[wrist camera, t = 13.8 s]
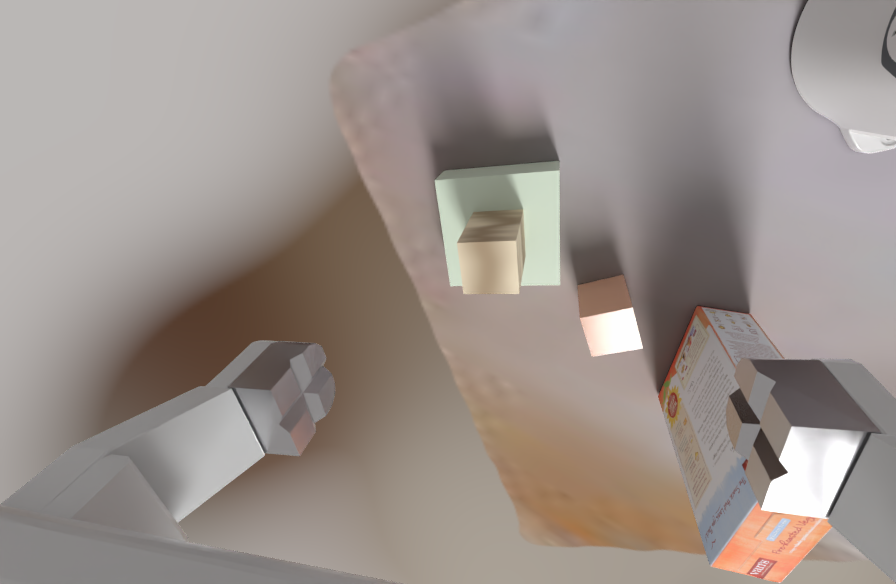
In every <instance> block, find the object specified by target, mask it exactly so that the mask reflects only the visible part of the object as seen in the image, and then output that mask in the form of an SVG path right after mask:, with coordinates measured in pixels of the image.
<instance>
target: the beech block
mask: <svg viewBox="0 0 896 584" xmlns="http://www.w3.org/2000/svg"><path fill="white" fill-rule="evenodd" d="M457 248H458V256H459V263H460V271H461V278H462V285H463V293H464V294H519V293H520V287H521V281H522V275H523V269H524V263H525V257H526V252H525V231H524V211H523V209H517V210H500V211H482V212H473V214H472V216H471V217H470V219H469V221H468V223H467V225H466V227H465V229H464V230H463V232H462V234H461V236H460V238H459V240H458V242H457Z"/></svg>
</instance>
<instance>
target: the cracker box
mask: <svg viewBox="0 0 896 584" xmlns="http://www.w3.org/2000/svg"><path fill="white" fill-rule="evenodd" d="M741 358H768V359H785V358H784V357H783V356H782V355H781V353H780V352H779V351H778V349H777V348H776V347H775V345H774V344H773V343H772V341H771V340H770V339H769V337H768V336H767V335H766V334H765V332H764V331H763V330H762V328H761V327H760V326H759V325H758V323H757V322H756V321H755V319H754V318H753V317H752V316H751V314H746V313H740V312H734V311H728V310H721V309H714V308H708V307H702V306H697V307H696V309H695V311H694V314H693V316H692V318H691V321H690V323H689V325H688V327H687V330H686V332H685V335H684V337H683V339H682V342H681V344H680V346H679V349H678V351H677V354H676V356H675V358H674V360H673V363H672V365H671V367H670V370H669V372H668V374H667V377H666V379H665V382H664V384H663V386H662V389H661V391H660V393H659V396H658V397H659V401H660V404H661V407H662V411H663V414H664V418H665V421H666V424H667V427H668V431H669V434H670V437H671V440H672V444H673V447H674V450H675V453H676V457H677V460H678V463H679V466H680V470H681V473H682V476H683V479H684V483H685V486H686V489H687V493H688V496H689V499H690V503H691V506H692V509H693V512H694V516H695V519H696V522H697V525H698V529H699V532H700V535H701V538H702V541H703V545H704V548H705V551H706V555H707V558H708V561H709V564H710V566H712V567H716V568H720V569H724V570H728V571H733V572H737V573H741V574H746V575H750V576H754V577H757V578H761V579H765V580H769V581H773V582H779V583H781V582H782V581H783V580H784V578H785V577H786V576H787V575H788V574H789V573H790V572H791V571H792V570H793V569H794V567H796V566H797V565H798V564H799V562H800V561H801V560H802V559H803V558H804V557H805V556H806V555H807V554H808V553H809V552H810V550H811V549H812V548H813V547H814V546H815V545H816V544H817V543H818V542H819V541H820V540H821V538H822V537H823V536H824V535H825V534H826V533H827V532H828V531H829V530H830V529H831V528H832V526H831V525H830V524H829V523H828V522H827V521H828V519H824V518H816V517H809V516H802V515H795V514H788V513H781V512H774V511H767V510H761V508H760V506H759V503H758V501H757V499H756V497H755V494H754V492H753V490H752V488H751V486H750V483H749V481H748V479H747V477H746V475H745V470H746V467H747V463H748V460H747V459H745V458H744V457H743V456H742V455H740V454H739V453H738V452H736V451H735V450H734V447H733V445H732V442H731V440H730V438H729V434H728V430H727V425H726V407H727V403H728V398H729V395H731V394H732V393H733V392H735V391H736V390H737V389H739V388H740V387H739V385H738V383H737V381H736V379H735V377H734V374H735V370H736V366H737V364H738V362H739V361H740V360H741Z"/></svg>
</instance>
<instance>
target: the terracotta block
mask: <svg viewBox="0 0 896 584" xmlns="http://www.w3.org/2000/svg"><path fill="white" fill-rule="evenodd" d="M578 298H579V312H580V320H581V323H582V326H583V329H584V333H585V336H586V339H587V342H588V345H589V349H590V352H591V355H592V357H594V356H600V355H606V354H612V353H618V352H624V351H630V350H636V349H642V348H643V347H642V343H641V339H640V335H639V331H638V327H637V323H636V319H635V315H634V311H633V307H632V303H631V300H630V296H629V293H628V289H627V285H626V282H625V278H624V275H619V276H615V277H611V278H606V279H602V280H598V281H594V282H589V283H585V284H581V285H578Z"/></svg>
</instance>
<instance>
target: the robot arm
mask: <svg viewBox="0 0 896 584" xmlns="http://www.w3.org/2000/svg"><path fill="white" fill-rule="evenodd" d="M791 67H792V74H793V78H794V82H795V85H796V87H797V90H798V92H799V93H800V95H801V97H802V98H803V99H804V101H805V102H806V103H807V104H808V105H809V106H810V107H811V108H812V109H813V110H814V111H816V112H817V113H818V114H820V115H822V116H824V117H825V118H827V119H829V120H830V121H832V122H833V123H835V124H836V125H837V126H838V127H839V128H840V131H841V133H842V135H843V137H844V139H845V141H846V142H847V144H848V146H849V147H850V148H851V149H852V150H854V151H856V152H860V153H867V154H868V153H876V152H881V151H885V150H889V149H894V148H896V0H808V2H807V4H806V6H805V8H804V10H803V12H802V14H801V17H800V19H799V22H798V25H797V28H796V31H795V35H794V39H793V44H792V52H791ZM325 360H326V356H325V354H324V351H323V349H322V346H320V345H318V344H316V343H302V342H285V341H257V342H253V343H252V344H250V345H249V346H248V348H246V349H245V350H244V351H243V352H242V353H241V354H240V355H239V356H238V357H237V358H235V359H234V360H233V361H232V362H231V363H230V364H229V365H228V366H227V367H226V368H225V369H224V370H223V371H222V372H221V373H219V374H218V375H217V376H216V377H215V378H214V379H213V380H212V381H211V382H210V383H209V384H208V385H206V386H205V387H201V386H199V387H197V388H195V389H193V390H191V391H189V392H186V393H184V394H182V395H180V396H178V397H176V398H174V399H172V400H169V401H167V402H165V403H163V404H161V405H159V406H157V407H155V408H152V409H150V410H148V411H146V412H144V413H142V414H140V415H138V416H136V417H133V418H132V419H129V420H127V421H125V422H123V423H121V424H119V425H117V426H114V427H112V428H110V429H108V430H106V431H104V432H102V433H100V434H97V435H95V436H93V437H91V438H89V439H87V440H85V441H83V442H81V443H78V444H76V445H74V446H72V447H71V448H69V449H68V450H67V451H66V452H65V453H63V454H62V455H61V456H60V457H58V458H57V459H56V460H55V461H54V462H52V463H51V464H50V465H48V466H47V467H46V468H45V469H43V470H42V471H41V472H40V473H39V474H37V475H36V476H35V477H34V478H32V479H31V480H30V481H29V482H27V483H26V484H25V485H24V486H22V487H21V488H20V489H19V490H17V491H16V492H15V493H14V494H13V495H11V496H10V497H9V498H8V499H7V500H5V501H4V502H3V503H1V504H0V584H402V583H397V582H392V581H387V580H382V579H377V578H372V577H367V576H361V575H356V574H351V573H346V572H341V571H336V570H331V569H325V568H320V567H315V566H310V565H305V564H300V563H295V562H290V561H285V560H279V559H274V558H269V557H264V556H259V555H253V554H249V553H244V552H238V551H233V550H228V549H223V548H218V547H213V546H208V545H203V544H198V543H192V542H188V537H187V535H186V534H185V532H184V531H183V530H182V528H181V527H180V526H179V524H178V522H179V521H180V520H182V519H183V518H184V517H186V516H187V515H188V514H189V513H191V512H192V511H193V510H195V509H196V508H197V507H199V506H200V505H201V504H202V503H204V502H205V501H206V500H207V499H209V498H210V497H211V496H213V495H214V494H215V493H217V492H218V491H219V490H221V489H222V488H223V487H224V486H225V485H227V484H228V483H230V482H231V481H232V480H233V479H235V478H236V477H237V476H239V475H240V474H241V473H243V472H244V471H245V470H246V469H248V468H249V467H250V466H251V465H253V464H254V463H255V462H257V461H258V460H259V459H261V458H262V457H263V456H264V455H265V454H264V453H270V454H282V455H294V456H300V455H301V453H302V452H303V450H304V449H305V447H306V446H307V444H308V443H309V441H310V439H311V438H312V437H313V435H314V433H315V432H316V428H315V422H317V421H318V420H320V419H321V418H323V417H324V416H326V415H327V413H328V411H329V410H330V408H331V406H332V403H333V400H334V396H335V383H334V379H333V376H332V374H331V373H330V372H329V371H328V370H327V369H326V368H324V366H323V365H324V363H325ZM734 377H735V379H736V381H737V383H738V385H739V387H740V388H739V389H737V390H736V391H735V392H733V393H732V394H731V395H729V398H728V403H727V407H726V425H727V430H728V434H729V438H730V440H731V442H732V445H733V447H734V450H735V451H736V452H738V453H739V454H740V455H742V456H743V457H744V458H745V459H747V460H748V463H747V467H746V470H745V475H746V477H747V479H748V481H749V483H750V486H751V488H752V490H753V492H754V494H755V497H756V499H757V501H758V503H759V506H760V508H761V510H767V511H774V512H781V513H788V514H795V515H802V516H809V517H816V518H824V519H828V521H827V522H828V523H829V524H830V525H831V526H832V527H833V528H835V529H836V530H837V531H838V532H839V533H840V534H841V535H842V536H844V537H845V538H846V539H847V540H848V541H849V542H850V543H851V544H852V545H854V546H855V547H856V548H857V549H858V550H859V551H860V552H861V553H862V554H864V555H865V556H866V557H867V558H868V559H869V560H870V561H871V562H873V563H874V564H875V565H876V566H877V567H878V568H879V569H880V570H881V571H883V572H884V573H885V574H886V575H887V576H888V577H889V578H891V580H893V581H894V582H895V583H896V399H895V398H894V397H893V396H892V395H891V394H890V393H889V392H888V391H887V390H886V389H885V388H884V387H883V386H882V384H881V383H880V382H879V381H878V380H877V379H876V378H875V377H874V376H873V375H872V374H871V373H870V372H869V371H868V370H867V369H866V368H865V367H864V366H863V365H862V364H860V363H859V362H856V361H854V360H852V359H812V360H802V359H768V358H741V360H740V361H739V362H738V364H737V366H736V370H735V374H734Z"/></svg>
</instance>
